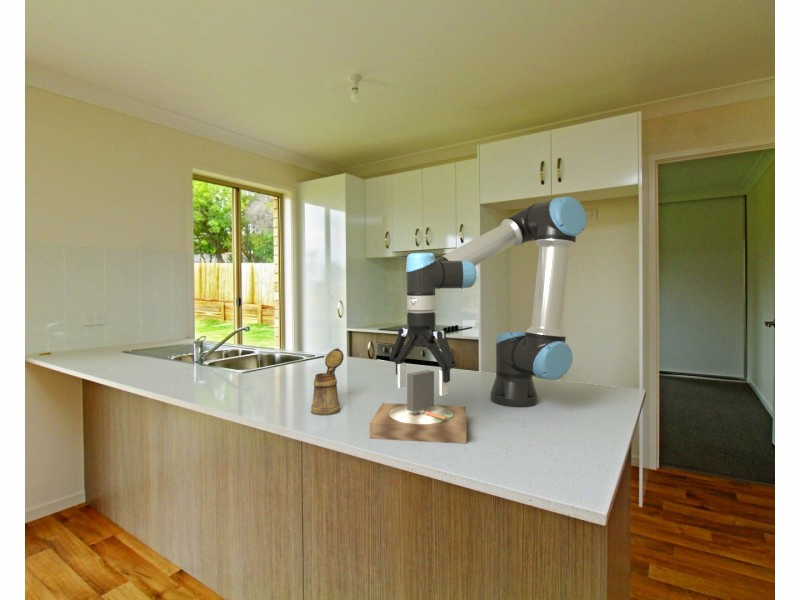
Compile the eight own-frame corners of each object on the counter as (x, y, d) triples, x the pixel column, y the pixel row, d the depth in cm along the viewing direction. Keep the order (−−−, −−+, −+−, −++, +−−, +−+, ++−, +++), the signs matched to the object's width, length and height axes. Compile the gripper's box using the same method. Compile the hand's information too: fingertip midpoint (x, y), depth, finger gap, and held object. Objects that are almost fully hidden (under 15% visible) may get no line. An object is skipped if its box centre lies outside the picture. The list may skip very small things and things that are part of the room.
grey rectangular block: (427, 408, 120) (427, 370, 119) (455, 417, 112) (455, 376, 112) (407, 414, 115) (407, 373, 114) (434, 423, 107) (434, 380, 107)
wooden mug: (351, 404, 140) (350, 348, 139) (332, 416, 127) (332, 355, 126) (325, 401, 143) (325, 347, 142) (305, 413, 130) (305, 353, 129)
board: (465, 420, 124) (465, 405, 124) (466, 443, 106) (466, 425, 106) (382, 416, 127) (382, 401, 127) (369, 438, 109) (369, 421, 109)
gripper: (376, 310, 120) (377, 386, 121) (454, 314, 105) (455, 401, 106) (393, 309, 126) (394, 381, 127) (469, 312, 110) (470, 394, 111)
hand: (422, 390), depth 116 cm, fingers open, 13 cm apart
